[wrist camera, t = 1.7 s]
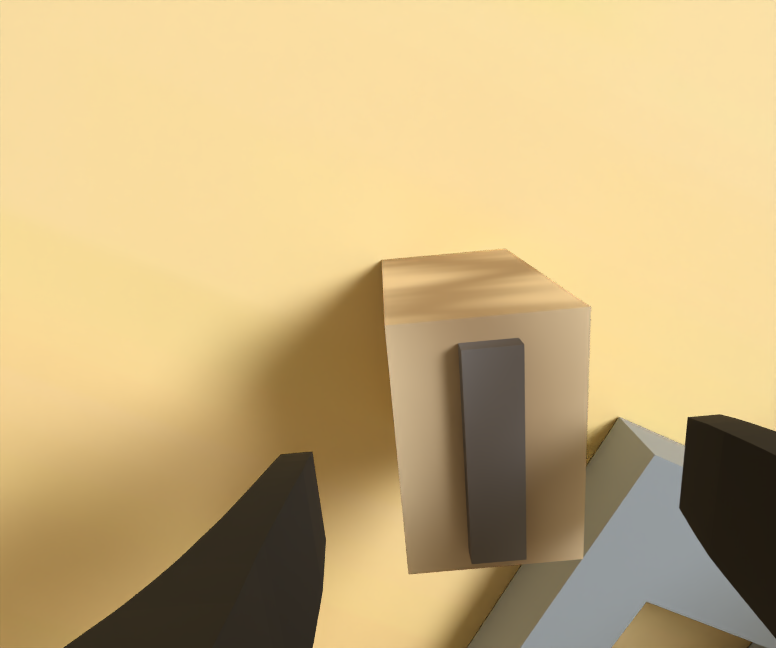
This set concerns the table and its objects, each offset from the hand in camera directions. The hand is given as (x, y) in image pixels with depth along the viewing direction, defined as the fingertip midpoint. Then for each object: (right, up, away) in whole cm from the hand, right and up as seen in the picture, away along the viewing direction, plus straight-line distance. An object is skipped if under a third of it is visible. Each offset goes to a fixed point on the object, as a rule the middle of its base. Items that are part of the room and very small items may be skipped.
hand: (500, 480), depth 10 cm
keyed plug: (0, +2, +8) cm, 8 cm away
